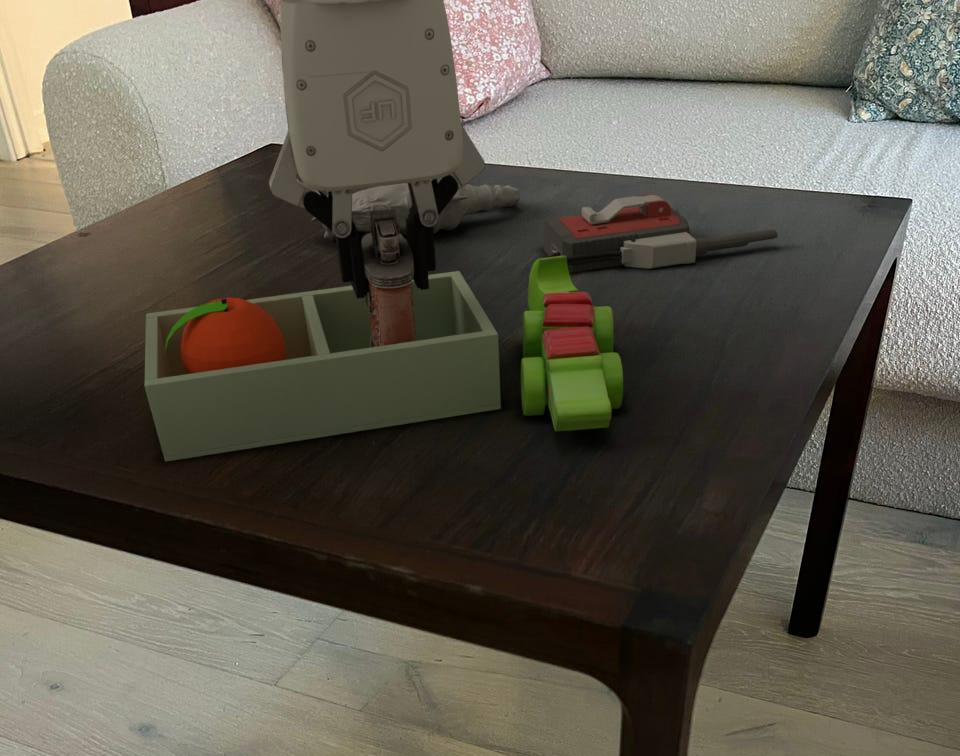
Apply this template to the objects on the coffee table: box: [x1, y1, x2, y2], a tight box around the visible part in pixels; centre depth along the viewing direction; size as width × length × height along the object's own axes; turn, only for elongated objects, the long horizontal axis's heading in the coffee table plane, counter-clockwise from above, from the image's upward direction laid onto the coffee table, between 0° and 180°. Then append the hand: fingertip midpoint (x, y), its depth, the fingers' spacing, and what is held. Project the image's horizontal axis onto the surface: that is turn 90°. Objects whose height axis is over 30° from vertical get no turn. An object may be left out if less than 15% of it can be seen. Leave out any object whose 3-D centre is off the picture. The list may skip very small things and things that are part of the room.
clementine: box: [164, 297, 286, 374], centre depth 70 cm, size 8×7×7 cm
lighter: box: [361, 204, 417, 348], centre depth 70 cm, size 8×3×10 cm, turn 10°
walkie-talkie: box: [543, 193, 779, 273], centre depth 91 cm, size 9×4×20 cm
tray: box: [143, 270, 502, 462], centre depth 72 cm, size 12×22×6 cm, turn 103°
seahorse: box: [311, 180, 521, 239], centre depth 98 cm, size 5×12×20 cm
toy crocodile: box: [520, 256, 624, 432], centre depth 72 cm, size 20×7×6 cm, turn 179°
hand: (389, 283), depth 70 cm, fingers closed on lighter, 3 cm apart
